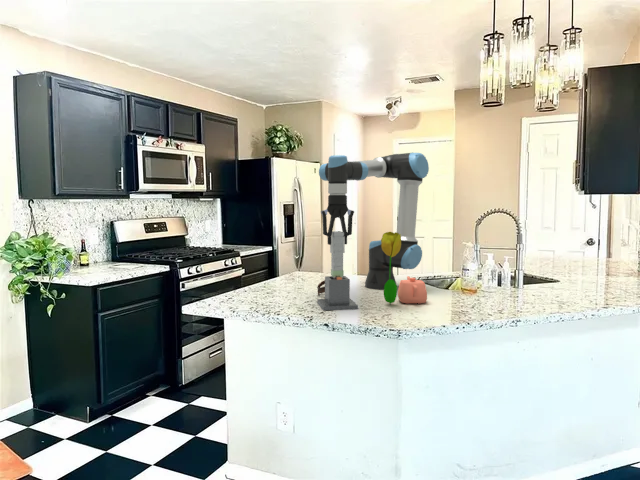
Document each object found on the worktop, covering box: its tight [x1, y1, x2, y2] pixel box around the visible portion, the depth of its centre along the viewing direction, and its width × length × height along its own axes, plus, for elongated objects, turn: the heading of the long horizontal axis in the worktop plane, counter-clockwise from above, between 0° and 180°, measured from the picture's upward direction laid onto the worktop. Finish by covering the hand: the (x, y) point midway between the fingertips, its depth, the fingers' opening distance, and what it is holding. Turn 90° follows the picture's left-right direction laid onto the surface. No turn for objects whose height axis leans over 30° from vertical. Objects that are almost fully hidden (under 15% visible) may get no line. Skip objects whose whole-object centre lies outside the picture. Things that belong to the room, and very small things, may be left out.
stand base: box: [316, 275, 359, 311], centre depth 195 cm, size 14×14×12 cm
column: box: [330, 230, 345, 279], centre depth 194 cm, size 4×6×21 cm
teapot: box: [397, 275, 428, 305], centre depth 203 cm, size 12×18×10 cm, turn 0°
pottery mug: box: [316, 279, 325, 296], centre depth 217 cm, size 12×10×8 cm
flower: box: [380, 231, 401, 306], centre depth 197 cm, size 9×8×30 cm
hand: (337, 252), depth 194 cm, fingers closed on column, 4 cm apart
